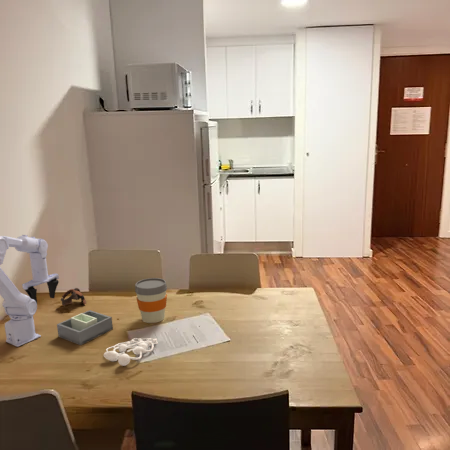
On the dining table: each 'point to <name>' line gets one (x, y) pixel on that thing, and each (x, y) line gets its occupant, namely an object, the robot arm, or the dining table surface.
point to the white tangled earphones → (122, 347)
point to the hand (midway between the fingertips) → (43, 300)
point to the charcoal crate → (88, 333)
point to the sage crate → (82, 321)
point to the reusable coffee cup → (151, 299)
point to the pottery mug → (72, 296)
